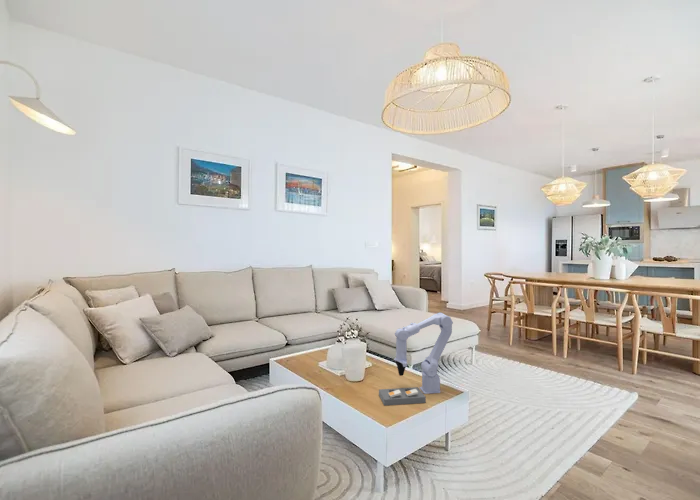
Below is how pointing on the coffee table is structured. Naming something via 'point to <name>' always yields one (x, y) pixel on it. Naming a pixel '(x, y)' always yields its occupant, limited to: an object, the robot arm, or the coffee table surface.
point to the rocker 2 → (411, 392)
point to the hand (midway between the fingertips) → (401, 375)
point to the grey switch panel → (401, 397)
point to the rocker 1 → (394, 393)
